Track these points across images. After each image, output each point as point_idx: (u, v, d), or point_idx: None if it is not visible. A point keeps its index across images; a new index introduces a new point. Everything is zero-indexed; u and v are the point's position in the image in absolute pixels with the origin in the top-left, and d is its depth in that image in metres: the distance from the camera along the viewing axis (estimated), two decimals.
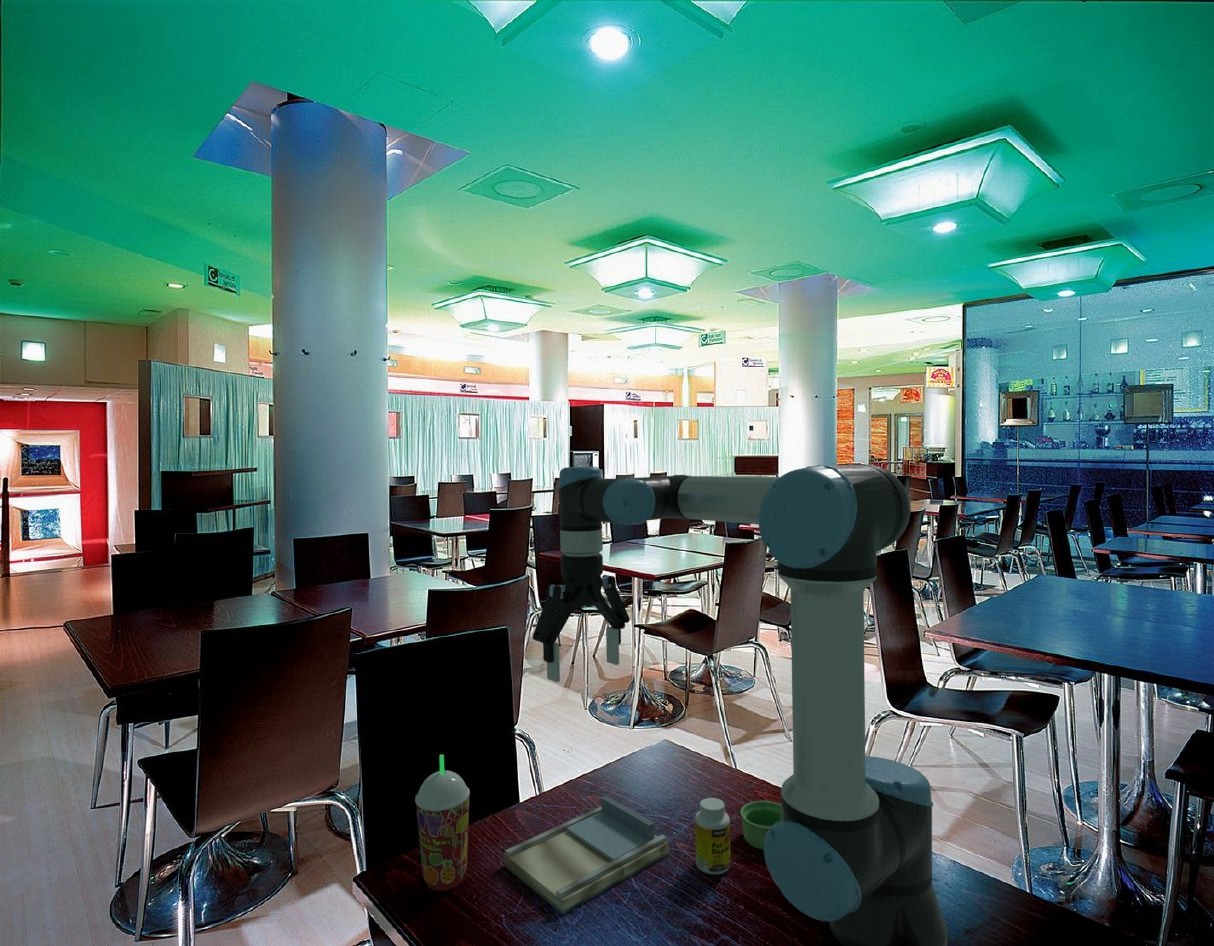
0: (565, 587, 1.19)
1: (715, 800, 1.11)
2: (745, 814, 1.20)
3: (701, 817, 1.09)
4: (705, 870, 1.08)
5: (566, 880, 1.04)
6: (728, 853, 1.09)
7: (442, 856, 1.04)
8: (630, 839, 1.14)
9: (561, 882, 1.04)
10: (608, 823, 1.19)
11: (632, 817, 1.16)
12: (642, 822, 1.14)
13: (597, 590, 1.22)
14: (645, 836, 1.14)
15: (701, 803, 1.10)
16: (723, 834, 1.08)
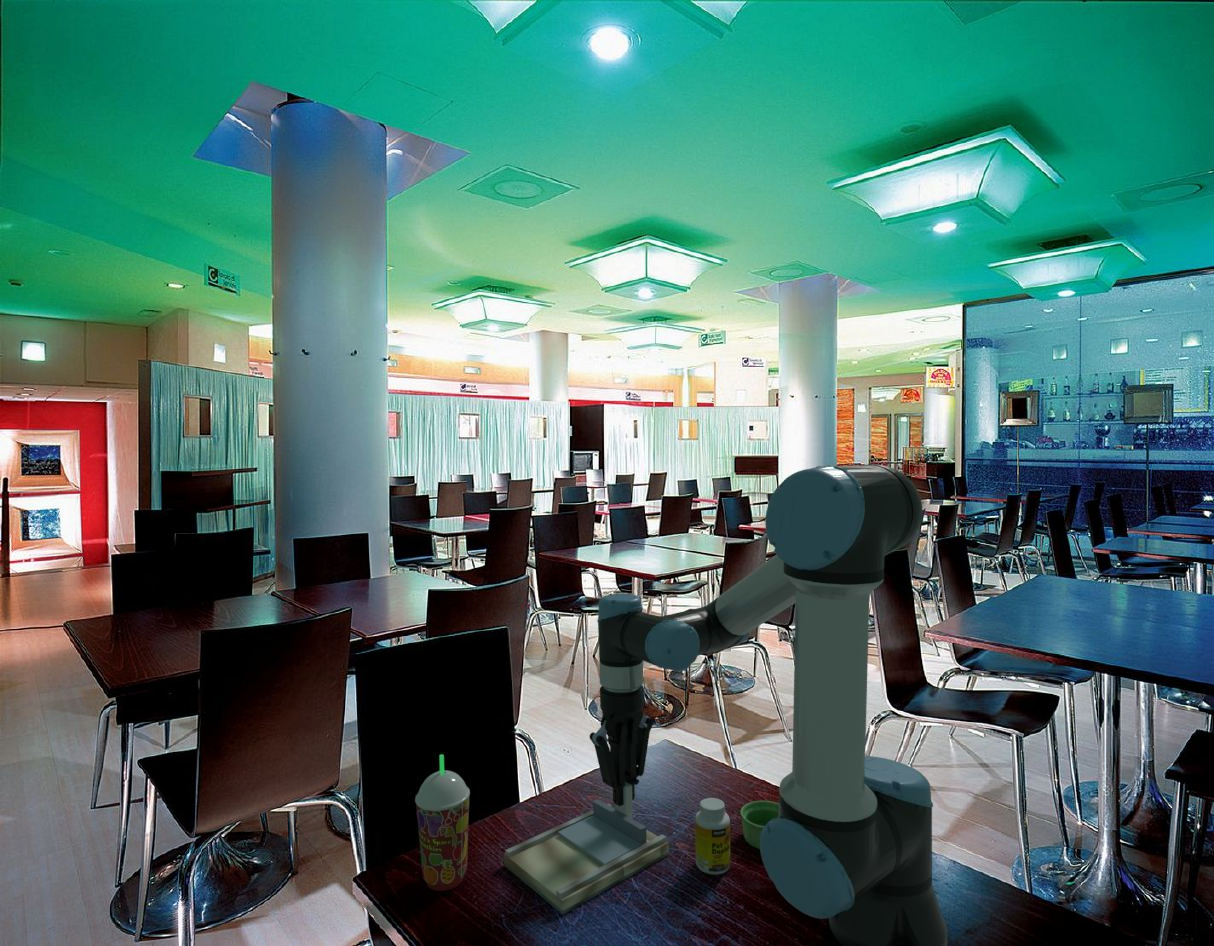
0: (606, 729, 1.14)
1: (715, 800, 1.11)
2: (745, 814, 1.19)
3: (701, 817, 1.09)
4: (705, 870, 1.08)
5: (566, 880, 1.04)
6: (728, 853, 1.09)
7: (442, 856, 1.04)
8: (622, 843, 1.12)
9: (561, 882, 1.04)
10: (600, 827, 1.17)
11: (624, 821, 1.15)
12: (634, 826, 1.13)
13: (636, 726, 1.17)
14: (637, 840, 1.13)
15: (701, 803, 1.10)
16: (723, 834, 1.08)
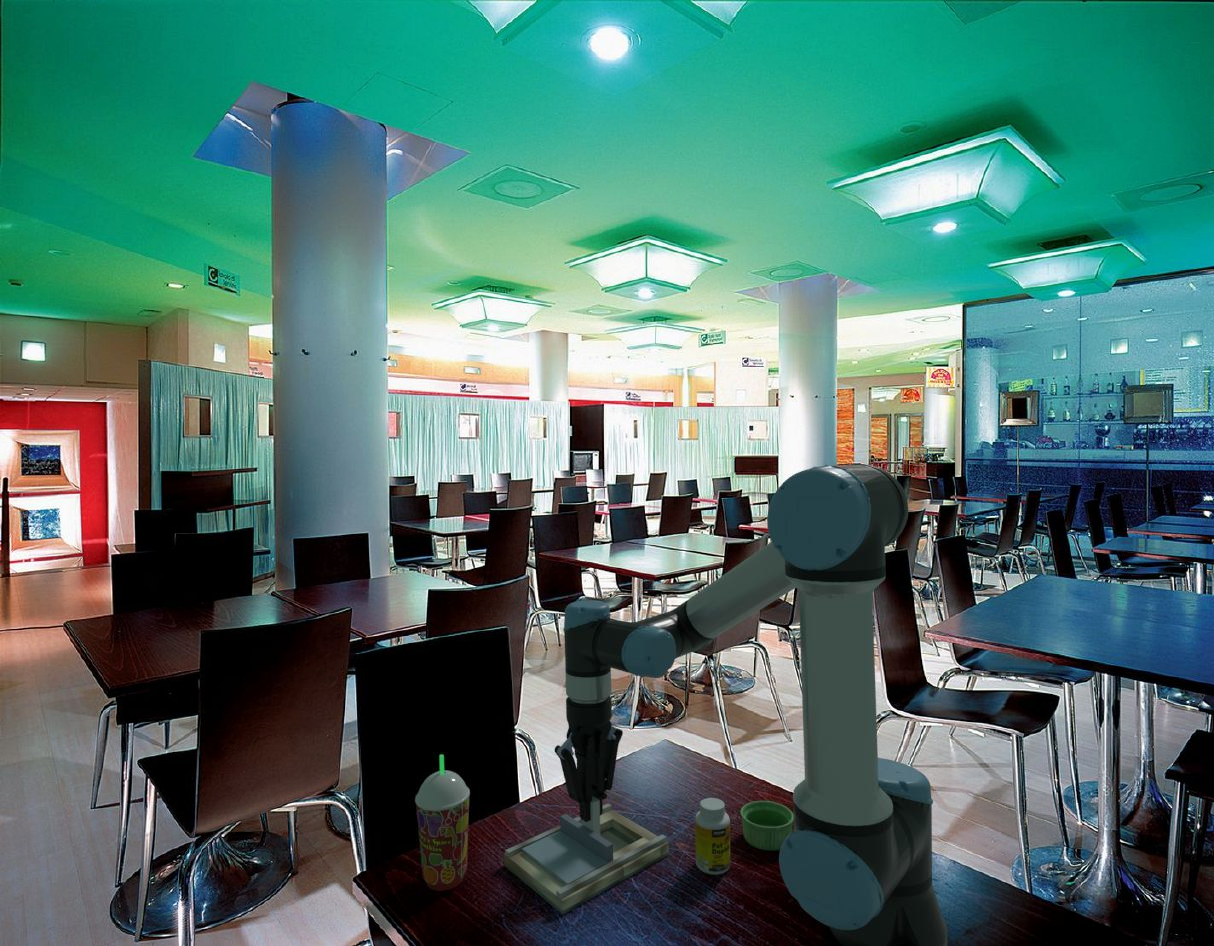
0: (571, 741, 1.10)
1: (715, 800, 1.11)
2: (745, 814, 1.19)
3: (701, 817, 1.09)
4: (705, 870, 1.08)
5: None
6: (728, 853, 1.09)
7: (442, 856, 1.04)
8: (587, 861, 1.08)
9: (561, 882, 1.04)
10: (566, 843, 1.13)
11: (590, 837, 1.10)
12: (600, 843, 1.08)
13: (604, 738, 1.12)
14: (603, 858, 1.08)
15: (701, 803, 1.10)
16: (723, 834, 1.08)
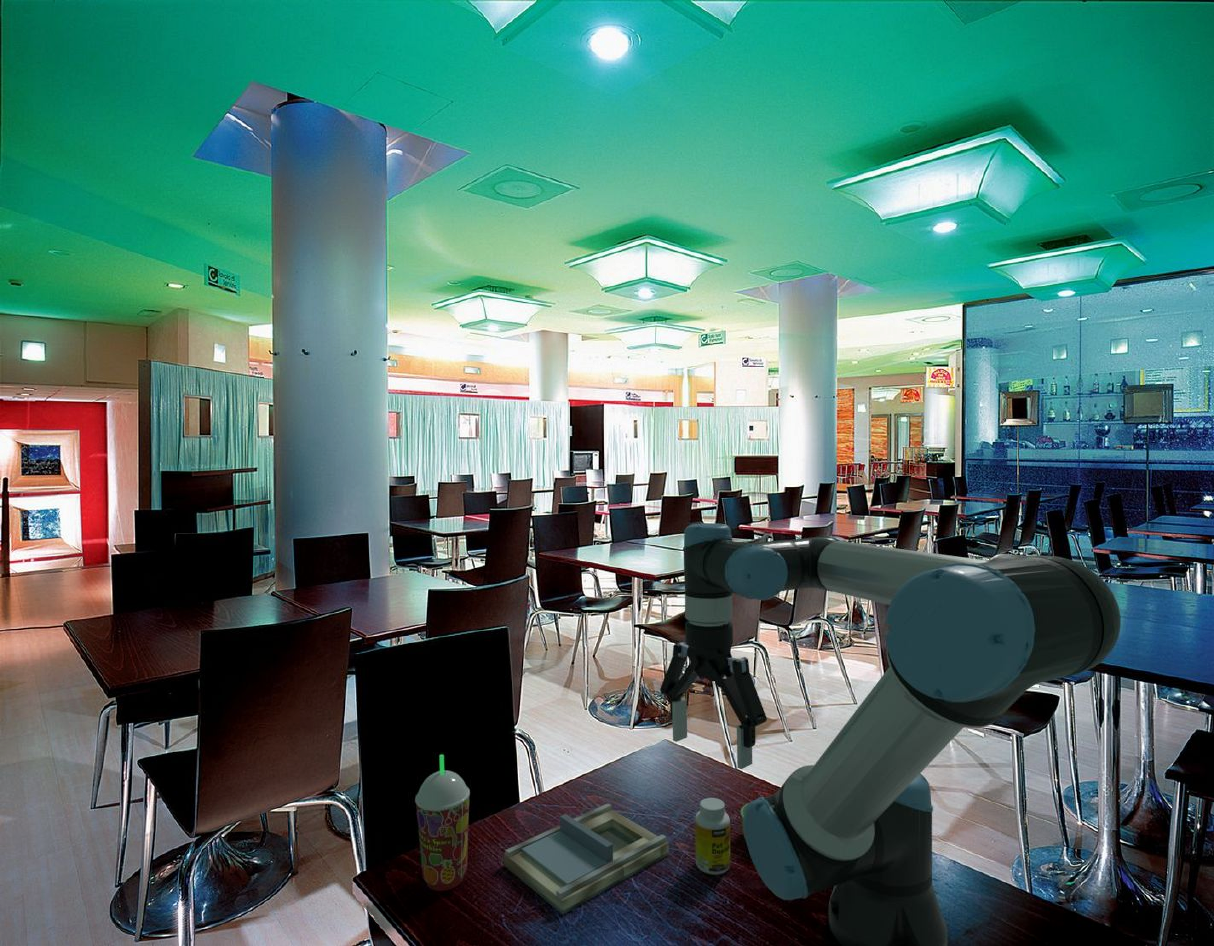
0: (687, 649, 1.12)
1: (715, 800, 1.11)
2: None
3: (701, 817, 1.09)
4: (705, 870, 1.08)
5: None
6: (728, 853, 1.09)
7: (442, 856, 1.04)
8: (587, 861, 1.08)
9: None
10: (566, 843, 1.13)
11: (590, 838, 1.10)
12: (600, 843, 1.08)
13: (710, 667, 1.07)
14: (603, 858, 1.08)
15: (701, 803, 1.10)
16: (723, 834, 1.08)
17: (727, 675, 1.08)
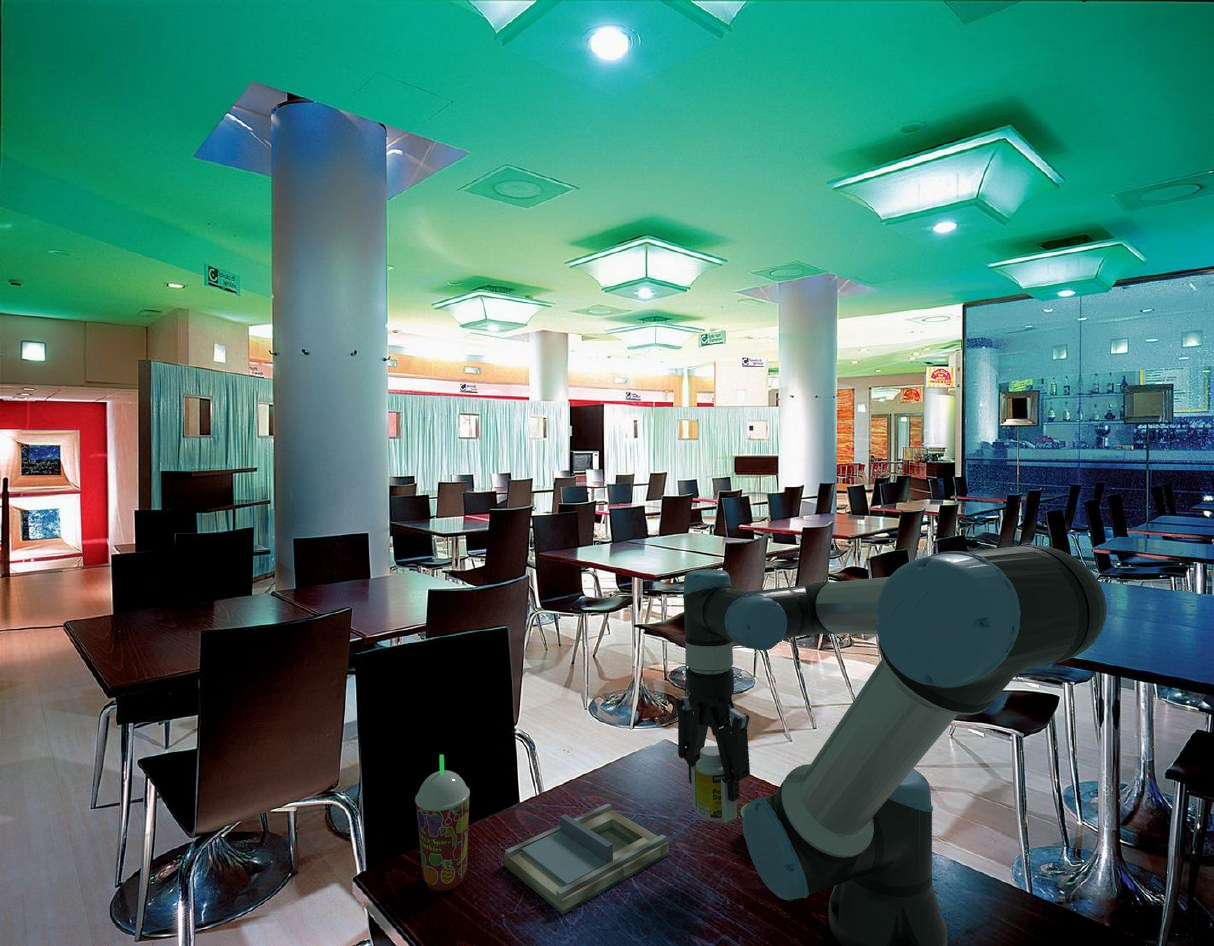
0: None
1: (715, 747, 1.10)
2: None
3: (701, 764, 1.09)
4: (706, 817, 1.07)
5: None
6: None
7: (442, 856, 1.04)
8: (587, 861, 1.08)
9: None
10: (566, 843, 1.13)
11: (590, 838, 1.10)
12: (600, 843, 1.08)
13: (711, 716, 1.07)
14: (603, 858, 1.08)
15: (701, 750, 1.10)
16: None
17: None
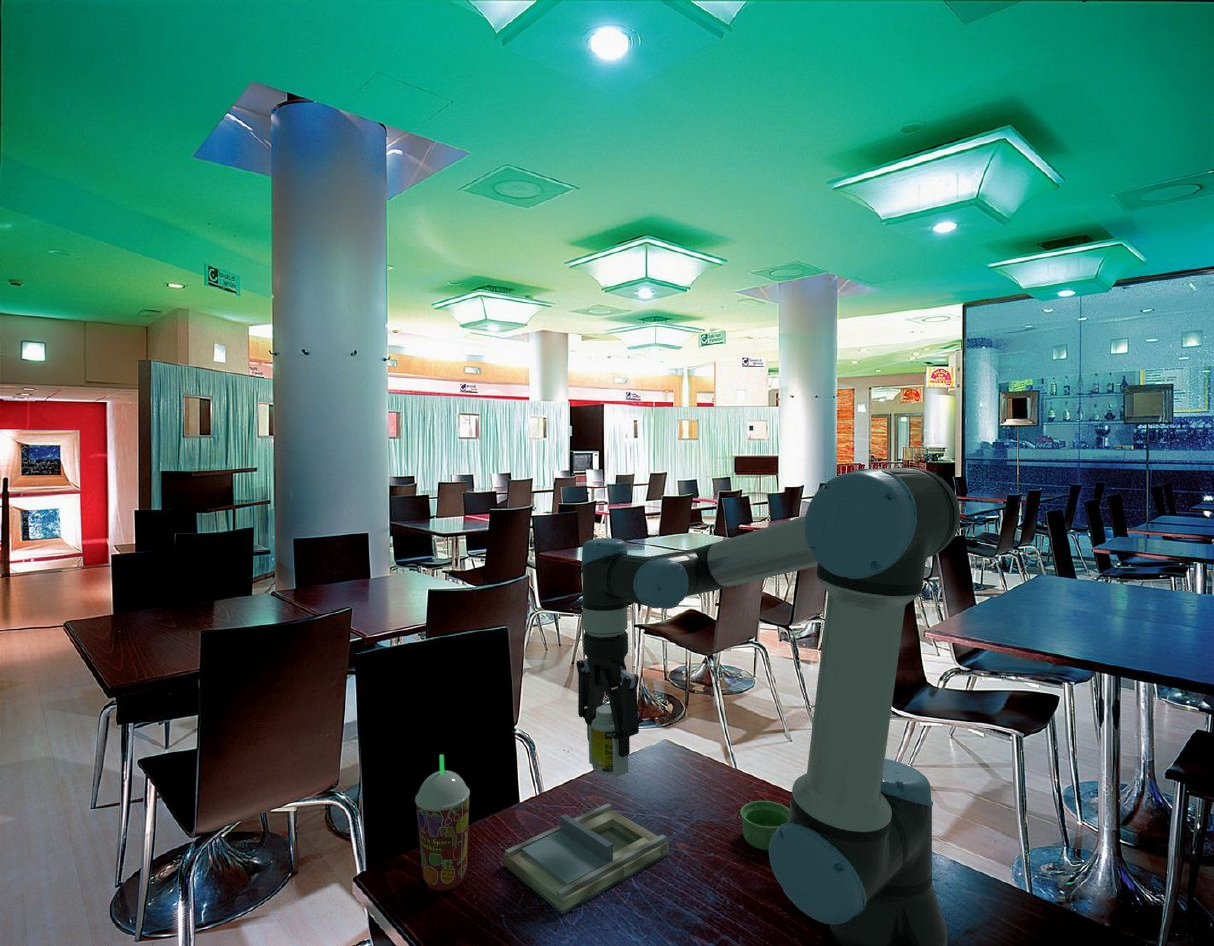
0: None
1: None
2: (745, 814, 1.19)
3: (596, 721, 1.15)
4: (599, 771, 1.13)
5: None
6: None
7: (442, 856, 1.04)
8: (587, 861, 1.08)
9: None
10: (566, 843, 1.13)
11: (590, 838, 1.10)
12: (600, 843, 1.08)
13: (604, 676, 1.13)
14: (603, 858, 1.08)
15: (597, 709, 1.15)
16: None
17: (618, 684, 1.15)
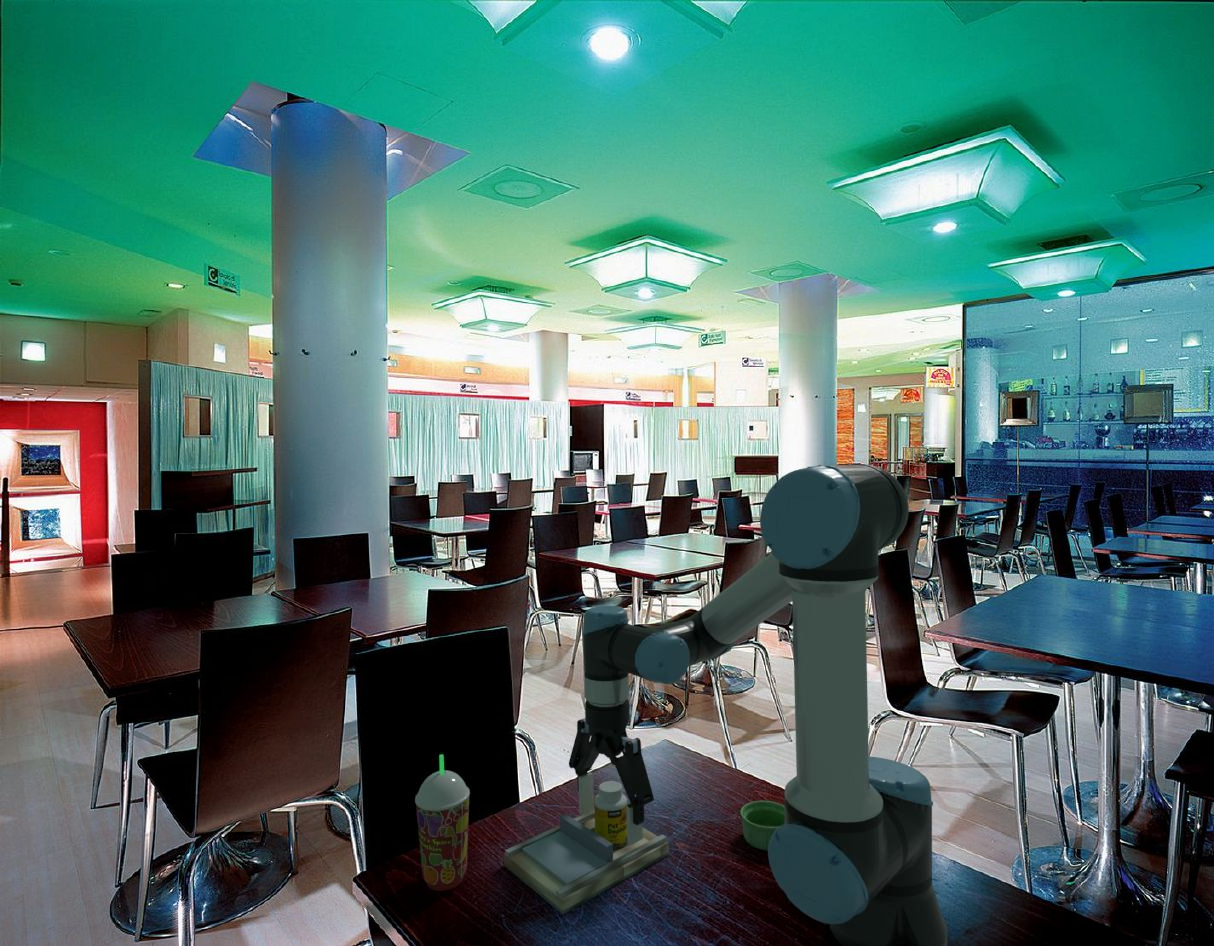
0: (589, 725, 1.18)
1: (614, 783, 1.16)
2: (745, 814, 1.19)
3: (599, 799, 1.15)
4: None
5: None
6: (624, 833, 1.14)
7: (442, 856, 1.04)
8: (587, 861, 1.08)
9: None
10: (566, 843, 1.13)
11: (590, 838, 1.10)
12: (600, 843, 1.08)
13: (606, 745, 1.13)
14: (603, 858, 1.08)
15: (600, 786, 1.16)
16: (619, 815, 1.13)
17: (623, 752, 1.14)
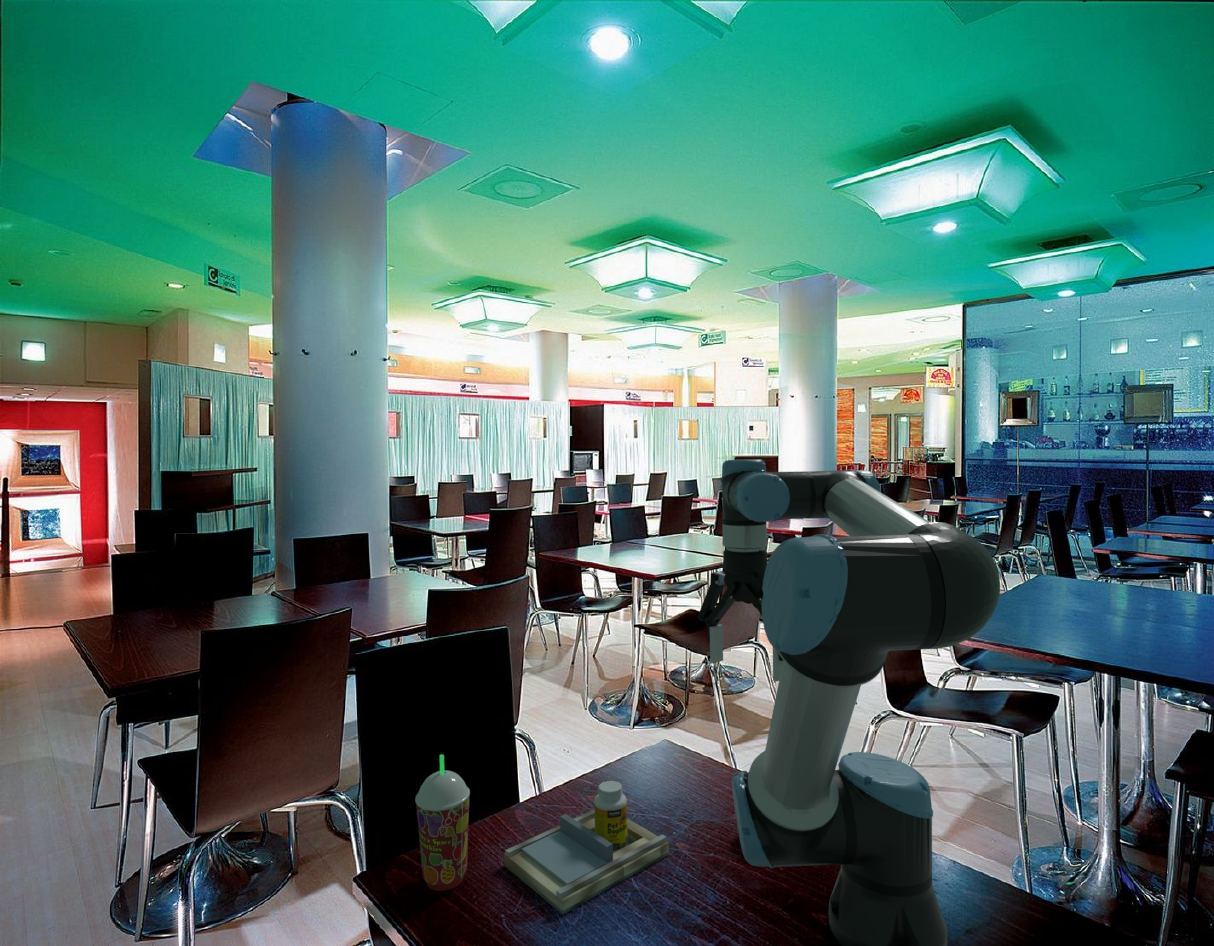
0: (724, 577, 1.21)
1: (613, 783, 1.16)
2: None
3: (599, 799, 1.15)
4: None
5: None
6: (624, 833, 1.14)
7: (442, 856, 1.04)
8: (587, 861, 1.08)
9: None
10: (566, 843, 1.13)
11: (590, 838, 1.10)
12: (600, 843, 1.08)
13: (747, 589, 1.16)
14: (603, 858, 1.08)
15: (600, 786, 1.16)
16: (619, 814, 1.13)
17: (762, 598, 1.17)
